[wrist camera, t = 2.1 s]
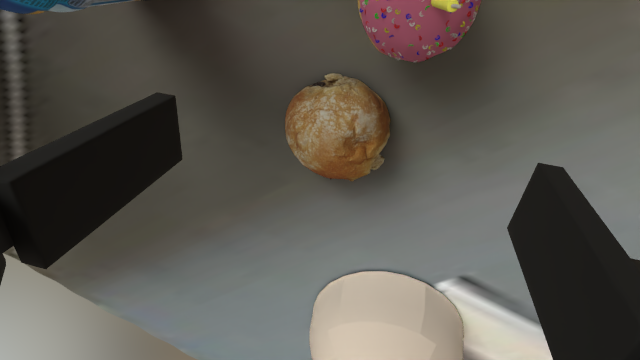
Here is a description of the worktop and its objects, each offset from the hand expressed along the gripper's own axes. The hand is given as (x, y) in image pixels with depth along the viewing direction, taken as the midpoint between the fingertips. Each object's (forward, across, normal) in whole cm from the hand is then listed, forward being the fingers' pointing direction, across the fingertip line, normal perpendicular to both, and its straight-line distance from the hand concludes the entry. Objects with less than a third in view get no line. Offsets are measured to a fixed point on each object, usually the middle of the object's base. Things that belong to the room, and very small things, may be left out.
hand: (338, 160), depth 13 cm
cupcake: (+22, +2, +4) cm, 23 cm away
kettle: (+22, +7, -36) cm, 43 cm away
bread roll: (+22, -3, -8) cm, 24 cm away
